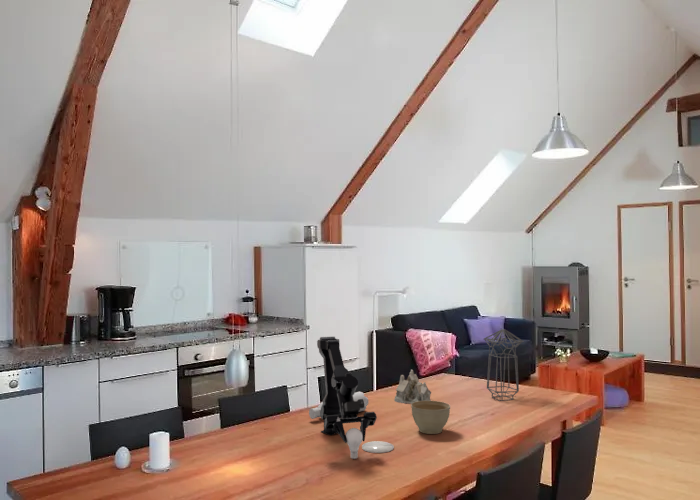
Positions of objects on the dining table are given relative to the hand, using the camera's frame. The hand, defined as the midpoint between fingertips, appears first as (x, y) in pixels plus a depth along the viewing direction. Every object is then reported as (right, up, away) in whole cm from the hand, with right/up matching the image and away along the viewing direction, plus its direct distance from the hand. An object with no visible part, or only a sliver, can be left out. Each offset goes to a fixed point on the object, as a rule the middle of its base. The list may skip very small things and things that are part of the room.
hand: (355, 441), depth 215 cm
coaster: (+9, -7, +14) cm, 18 cm away
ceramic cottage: (+29, -7, +86) cm, 91 cm away
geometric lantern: (+76, -7, +90) cm, 118 cm away
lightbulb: (0, -7, +1) cm, 7 cm away
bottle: (-7, -7, +59) cm, 60 cm away
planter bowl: (+32, -7, +34) cm, 47 cm away
